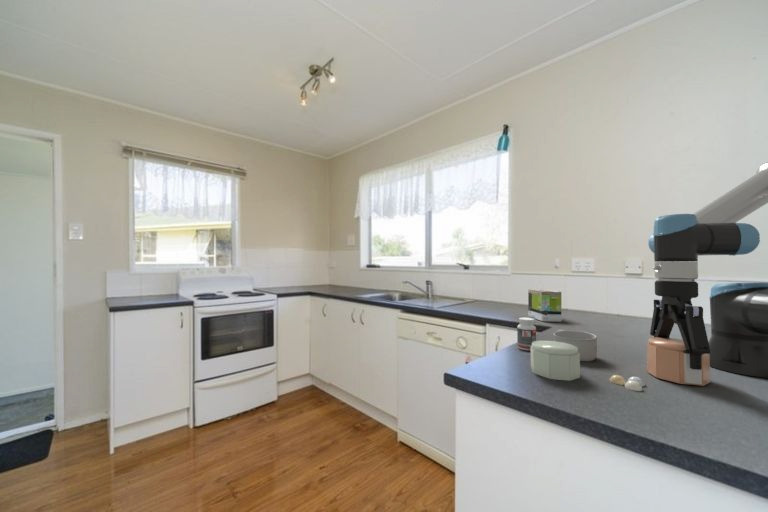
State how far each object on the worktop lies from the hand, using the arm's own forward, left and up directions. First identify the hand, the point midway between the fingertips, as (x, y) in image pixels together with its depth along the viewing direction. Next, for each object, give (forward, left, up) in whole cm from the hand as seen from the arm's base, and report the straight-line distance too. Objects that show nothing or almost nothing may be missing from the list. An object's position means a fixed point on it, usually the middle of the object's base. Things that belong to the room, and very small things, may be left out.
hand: (677, 374), depth 73 cm
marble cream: (+13, +10, -1) cm, 16 cm away
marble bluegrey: (+11, +7, -1) cm, 13 cm away
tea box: (+11, -85, -3) cm, 86 cm away
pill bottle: (+29, -23, -2) cm, 37 cm away
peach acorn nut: (0, 0, -1) cm, 1 cm away
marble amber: (+15, +7, -1) cm, 16 cm away
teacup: (+18, -14, -3) cm, 23 cm away
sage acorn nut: (+27, +4, -2) cm, 27 cm away
